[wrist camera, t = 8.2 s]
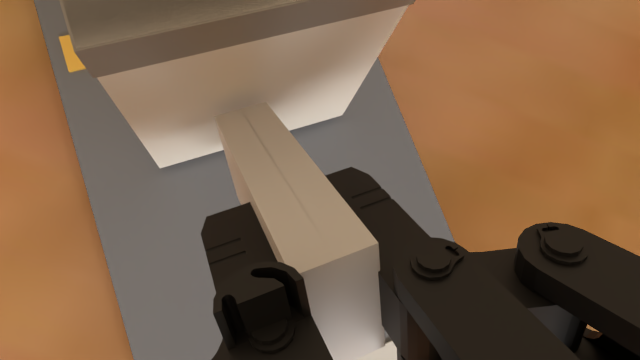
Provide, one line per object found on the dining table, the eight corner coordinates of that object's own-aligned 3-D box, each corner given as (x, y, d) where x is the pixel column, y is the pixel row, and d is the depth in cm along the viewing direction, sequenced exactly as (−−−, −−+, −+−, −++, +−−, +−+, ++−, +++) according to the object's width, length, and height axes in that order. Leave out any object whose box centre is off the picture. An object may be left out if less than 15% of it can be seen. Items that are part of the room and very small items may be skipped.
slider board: (550, 534, 17) (592, 569, 15) (252, 723, 14) (255, 798, 12) (277, -134, 22) (281, -177, 20) (18, -100, 19) (-8, -146, 17)
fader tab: (344, 116, 17) (431, -26, 9) (158, 170, 15) (73, 51, 7) (308, 24, 17) (361, -180, 10) (126, 66, 16) (18, -142, 8)
